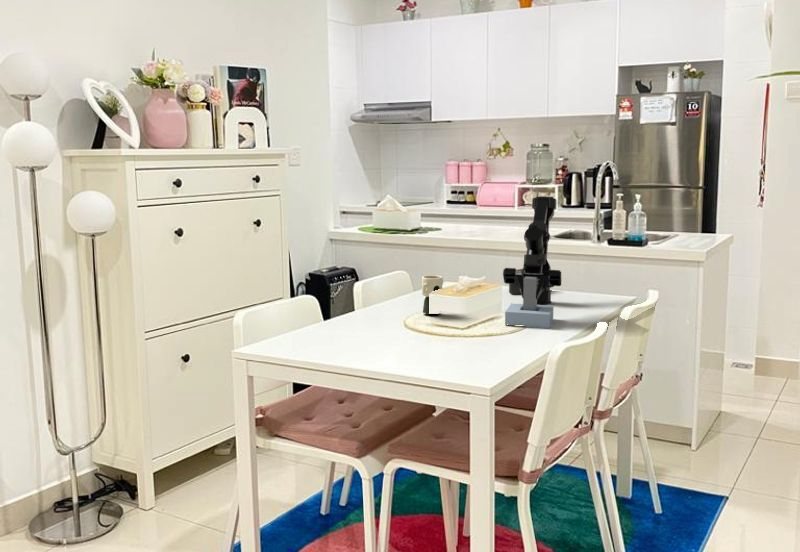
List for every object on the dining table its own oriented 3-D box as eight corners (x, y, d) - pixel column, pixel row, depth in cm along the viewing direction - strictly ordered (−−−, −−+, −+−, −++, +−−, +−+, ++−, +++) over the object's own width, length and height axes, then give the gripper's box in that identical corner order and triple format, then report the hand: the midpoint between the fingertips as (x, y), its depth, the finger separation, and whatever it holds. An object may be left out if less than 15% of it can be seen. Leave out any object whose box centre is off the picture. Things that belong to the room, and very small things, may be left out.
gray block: (524, 315, 269) (525, 276, 266) (536, 316, 268) (537, 277, 265) (522, 318, 265) (523, 278, 263) (535, 318, 264) (536, 279, 262)
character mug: (432, 318, 271) (432, 280, 269) (414, 316, 275) (414, 278, 273) (449, 313, 280) (449, 275, 278) (432, 310, 284) (432, 273, 282)
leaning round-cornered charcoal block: (517, 296, 310) (517, 271, 309) (507, 294, 313) (508, 270, 312) (543, 291, 321) (543, 267, 320) (533, 289, 324) (534, 265, 323)
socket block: (510, 316, 275) (511, 303, 274) (553, 318, 271) (553, 305, 270) (505, 325, 262) (505, 311, 261) (549, 328, 258) (549, 314, 257)
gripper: (504, 243, 268) (498, 282, 260) (562, 245, 264) (558, 285, 255) (507, 263, 277) (501, 301, 269) (563, 265, 272) (559, 305, 264)
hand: (529, 298), depth 264 cm, fingers closed on gray block, 4 cm apart
